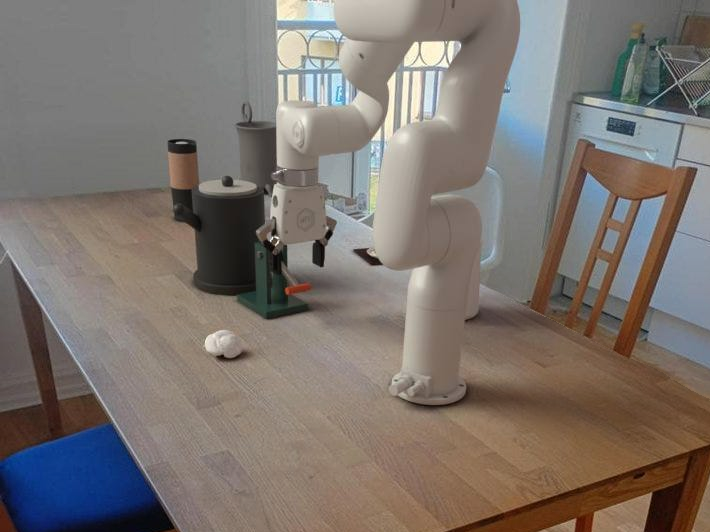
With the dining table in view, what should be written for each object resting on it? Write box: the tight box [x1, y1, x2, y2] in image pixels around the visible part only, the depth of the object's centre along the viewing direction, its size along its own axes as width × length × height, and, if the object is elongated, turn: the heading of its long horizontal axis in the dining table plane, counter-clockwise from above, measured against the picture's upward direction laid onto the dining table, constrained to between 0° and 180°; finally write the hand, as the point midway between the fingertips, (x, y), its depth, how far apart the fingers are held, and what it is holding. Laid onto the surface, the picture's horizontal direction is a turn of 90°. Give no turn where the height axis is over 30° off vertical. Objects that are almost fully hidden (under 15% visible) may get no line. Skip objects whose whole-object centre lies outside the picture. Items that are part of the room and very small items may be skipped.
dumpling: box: [202, 329, 243, 359], centre depth 141 cm, size 7×5×4 cm
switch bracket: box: [236, 242, 309, 320], centre depth 160 cm, size 12×10×13 cm
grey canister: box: [234, 100, 277, 198], centre depth 243 cm, size 19×15×25 cm
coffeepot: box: [465, 238, 484, 321], centre depth 159 cm, size 11×25×19 cm, turn 168°
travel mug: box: [167, 138, 200, 223], centre depth 213 cm, size 8×8×20 cm
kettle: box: [172, 175, 266, 296], centre depth 169 cm, size 20×21×23 cm
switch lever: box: [279, 251, 312, 295], centre depth 156 cm, size 13×5×2 cm, turn 36°
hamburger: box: [352, 246, 383, 266], centre depth 194 cm, size 12×12×6 cm
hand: (297, 269), depth 152 cm, fingers open, 9 cm apart
